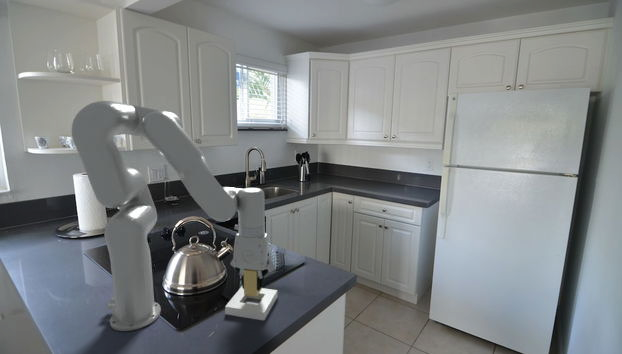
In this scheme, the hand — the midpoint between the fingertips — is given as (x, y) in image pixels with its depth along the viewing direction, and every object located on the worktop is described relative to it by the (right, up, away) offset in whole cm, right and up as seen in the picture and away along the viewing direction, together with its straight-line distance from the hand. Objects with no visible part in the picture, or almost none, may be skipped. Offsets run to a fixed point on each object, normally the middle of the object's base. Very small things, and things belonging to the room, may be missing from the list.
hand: (252, 286), depth 93 cm
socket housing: (0, -6, +1) cm, 6 cm away
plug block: (0, -2, 0) cm, 2 cm away
